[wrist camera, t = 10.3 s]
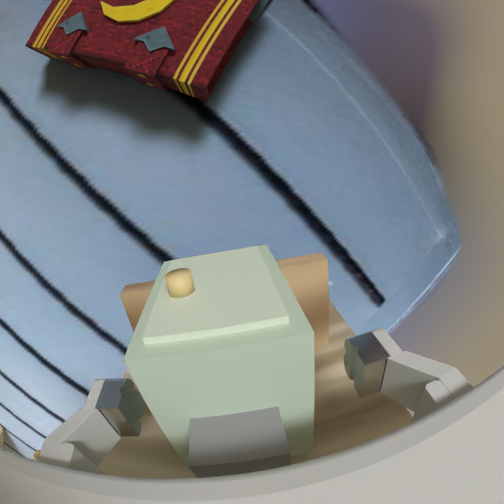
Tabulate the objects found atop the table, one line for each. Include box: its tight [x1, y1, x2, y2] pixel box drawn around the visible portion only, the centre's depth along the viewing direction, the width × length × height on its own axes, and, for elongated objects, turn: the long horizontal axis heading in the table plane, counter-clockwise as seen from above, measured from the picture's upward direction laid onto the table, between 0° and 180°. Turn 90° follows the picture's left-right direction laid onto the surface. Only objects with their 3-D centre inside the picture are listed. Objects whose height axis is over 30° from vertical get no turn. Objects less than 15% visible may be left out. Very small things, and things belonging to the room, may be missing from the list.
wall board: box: [98, 253, 413, 479], centre depth 14 cm, size 10×16×18 cm, turn 98°
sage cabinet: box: [124, 245, 315, 478], centre depth 11 cm, size 8×6×10 cm
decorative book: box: [26, 0, 270, 102], centre depth 12 cm, size 11×16×5 cm
